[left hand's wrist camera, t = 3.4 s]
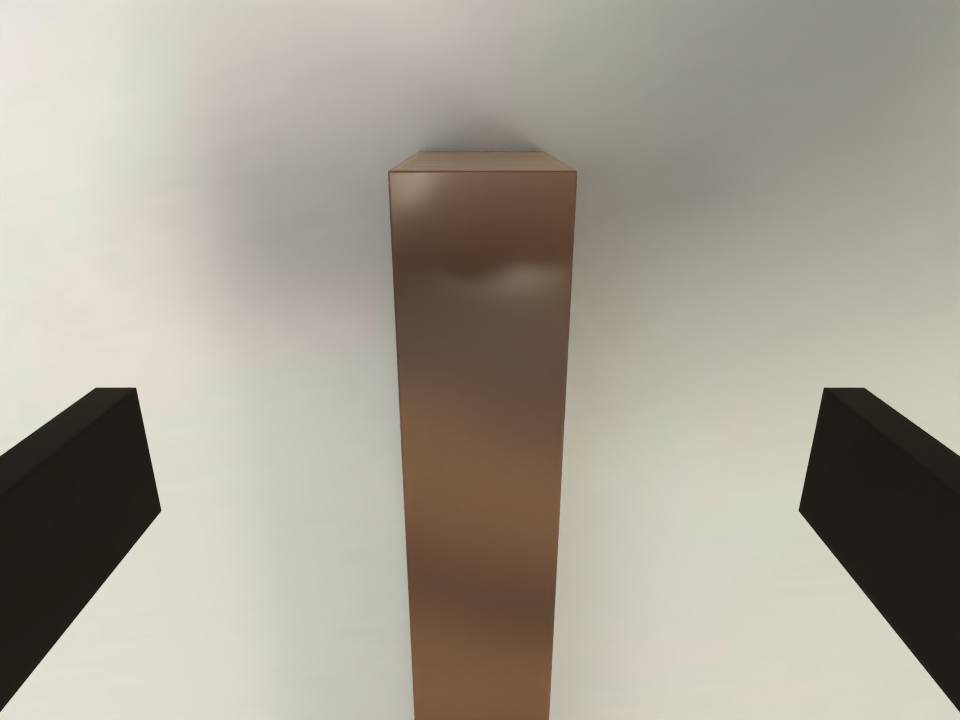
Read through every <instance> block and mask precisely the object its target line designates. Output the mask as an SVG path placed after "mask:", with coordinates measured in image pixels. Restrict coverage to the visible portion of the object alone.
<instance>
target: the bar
mask: <svg viewBox="0 0 960 720" xmlns="http://www.w3.org/2000/svg"><path fill="white" fill-rule="evenodd" d="M388 181H389V201H390V222H391V243H392V263H393V284H394V304H395V325H396V345H397V366H398V387H399V407H400V428H401V448H402V469H403V489H404V510H405V530H406V551H407V572H408V592H409V613H410V633H411V654H412V674H413V695H414V716H415V720H549V709H550V689H551V670H552V650H553V631H554V612H555V592H556V573H557V554H558V534H559V515H560V495H561V476H562V457H563V437H564V418H565V399H566V379H567V360H568V340H569V321H570V302H571V282H572V263H573V244H574V224H575V205H576V185H577V171H575V170H574V169H572V168H571V167H569V166H567V165H566V164H564V163H562V162H561V161H559V160H557V159H556V158H554V157H552V156H551V155H549V154H548V153H546V152H418V153H417V154H415V155H413V156H412V157H410V158H409V159H407V160H406V161H404V162H402V163H401V164H399V165H398V166H396V167H394V168H393V169H391V170H390V171H389V172H388Z"/></svg>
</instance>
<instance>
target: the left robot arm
mask: <svg viewBox="0 0 960 720" xmlns="http://www.w3.org/2000/svg"><path fill="white" fill-rule="evenodd" d="M160 512H161V507H160V502H159V497H158V492H157V487H156V482H155V478H154V473H153V468H152V463H151V458H150V453H149V448H148V444H147V439H146V434H145V429H144V424H143V419H142V414H141V410H140V405H139V400H138V395H137V390H136V388H95V389H93V390H92V391H91V392H89V393H88V394H86V395H85V396H84V397H82V398H81V399H79V400H78V401H77V402H75V403H74V404H72V405H71V406H70V407H68V408H67V409H66V410H64V411H63V412H61V413H60V414H59V415H57V416H56V417H54V418H53V419H52V420H50V421H49V422H47V423H46V424H45V425H43V426H42V427H40V428H39V429H38V430H36V431H35V432H33V433H32V434H31V435H29V436H28V437H26V438H25V439H24V440H22V441H21V442H19V443H18V444H17V445H15V446H14V447H12V448H11V449H10V450H8V451H7V452H5V453H4V454H3V455H1V456H0V712H1V710H2V709H3V708H4V707H5V705H6V704H7V703H8V702H9V700H10V699H11V698H12V697H13V695H14V694H15V693H16V692H17V690H18V689H19V688H20V687H21V685H22V684H23V683H24V682H25V680H26V679H27V678H28V677H29V675H30V674H31V673H32V672H33V670H34V669H35V668H36V667H37V665H38V664H39V663H40V662H41V660H42V659H43V658H44V657H45V655H46V654H47V653H48V652H49V651H50V649H51V648H52V647H53V646H54V644H55V643H56V642H57V641H58V639H59V638H60V637H61V636H62V634H63V633H64V632H65V631H66V629H67V628H68V627H69V626H70V624H71V623H72V622H73V621H74V619H75V618H76V617H77V616H78V614H79V613H80V612H81V611H82V609H83V608H84V607H85V606H86V604H87V603H88V602H89V601H90V599H91V598H92V597H93V596H94V594H95V593H96V592H97V591H98V589H99V588H100V587H101V586H102V584H103V583H104V582H105V581H106V579H107V578H108V577H109V576H110V574H111V573H112V572H113V571H114V569H115V568H116V567H117V566H118V564H119V563H120V562H121V561H122V559H123V558H124V557H125V556H126V554H127V553H128V552H129V551H130V549H131V548H132V547H133V546H134V544H135V543H136V542H137V541H138V539H139V538H140V537H141V536H142V534H143V533H144V532H145V531H146V529H147V528H148V527H149V526H150V524H151V523H152V522H153V521H154V519H155V518H156V517H157V516H158V514H159V513H160ZM799 512H800V513H801V514H802V516H803V517H804V518H805V519H806V521H807V522H808V523H809V524H810V526H811V527H812V528H813V529H814V531H815V532H816V533H817V534H818V536H819V537H820V538H821V539H822V541H823V542H824V543H825V544H826V546H827V547H828V548H829V549H830V551H831V552H832V553H833V554H834V556H835V557H836V558H837V559H838V561H839V562H840V563H841V564H842V566H843V567H844V568H845V569H846V571H847V572H848V573H849V574H850V576H851V577H852V578H853V579H854V581H855V582H856V583H857V584H858V586H859V587H860V588H861V589H862V591H863V592H864V593H865V594H866V596H867V597H868V598H869V599H870V601H871V602H872V603H873V604H874V606H875V607H876V608H877V609H878V611H879V612H880V613H881V614H882V616H883V617H884V618H885V619H886V621H887V622H888V623H889V624H890V626H891V627H892V628H893V629H894V631H895V632H896V633H897V634H898V636H899V637H900V638H901V639H902V641H903V642H904V643H905V644H906V646H907V647H908V648H909V649H910V651H911V652H912V653H913V654H914V655H915V657H916V658H917V659H918V660H919V662H920V663H921V664H922V665H923V667H924V668H925V669H926V670H927V672H928V673H929V674H930V675H931V677H932V678H933V679H934V680H935V682H936V683H937V684H938V685H939V687H940V688H941V689H942V690H943V692H944V693H945V694H946V695H947V697H948V698H949V699H950V700H951V702H952V703H953V704H954V705H955V707H956V708H957V709H958V710H959V712H960V456H959V455H957V454H956V453H955V452H953V451H952V450H950V449H949V448H948V447H946V446H945V445H943V444H942V443H941V442H939V441H938V440H936V439H935V438H934V437H932V436H931V435H929V434H928V433H927V432H925V431H924V430H922V429H921V428H920V427H918V426H917V425H915V424H914V423H913V422H911V421H910V420H908V419H907V418H906V417H904V416H903V415H901V414H900V413H899V412H897V411H896V410H894V409H893V408H892V407H890V406H889V405H888V404H886V403H885V402H883V401H882V400H881V399H879V398H878V397H876V396H875V395H874V394H872V393H871V392H869V391H868V390H867V389H865V388H824V390H823V395H822V400H821V405H820V410H819V414H818V419H817V424H816V429H815V434H814V439H813V444H812V448H811V453H810V458H809V463H808V468H807V473H806V478H805V482H804V487H803V492H802V497H801V502H800V507H799Z"/></svg>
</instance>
